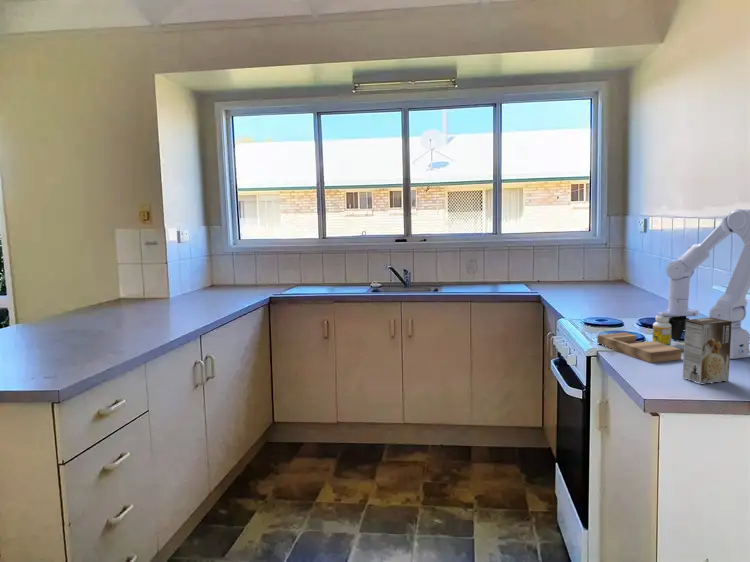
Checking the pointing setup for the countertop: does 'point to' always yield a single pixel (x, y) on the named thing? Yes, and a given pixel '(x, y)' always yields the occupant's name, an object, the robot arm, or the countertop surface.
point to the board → (640, 347)
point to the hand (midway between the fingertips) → (676, 339)
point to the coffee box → (707, 350)
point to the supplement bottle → (662, 330)
